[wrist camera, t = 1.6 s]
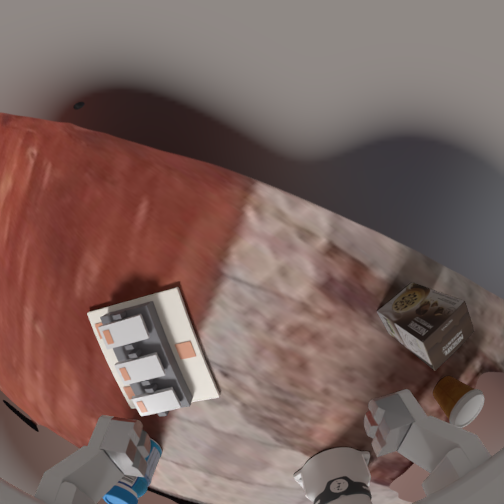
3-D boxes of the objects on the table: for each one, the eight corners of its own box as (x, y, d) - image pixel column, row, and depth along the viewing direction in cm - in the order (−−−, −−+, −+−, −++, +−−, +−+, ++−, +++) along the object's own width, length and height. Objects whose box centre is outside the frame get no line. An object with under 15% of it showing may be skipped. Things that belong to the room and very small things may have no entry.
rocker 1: (150, 336, 42) (148, 338, 41) (109, 347, 41) (106, 349, 40) (141, 313, 42) (139, 315, 41) (100, 325, 41) (97, 327, 39)
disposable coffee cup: (460, 386, 47) (486, 408, 35) (431, 410, 48) (455, 436, 36) (454, 361, 47) (484, 383, 35) (423, 388, 47) (450, 415, 35)
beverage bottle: (170, 454, 50) (147, 515, 30) (144, 459, 50) (118, 514, 30) (147, 430, 49) (116, 491, 29) (122, 436, 49) (89, 490, 30)
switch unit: (220, 394, 48) (216, 413, 42) (132, 406, 48) (122, 422, 42) (178, 286, 46) (167, 295, 40) (89, 311, 47) (72, 320, 41)
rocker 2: (165, 372, 43) (165, 375, 42) (125, 382, 41) (123, 385, 40) (156, 352, 42) (155, 355, 41) (116, 362, 41) (114, 365, 40)
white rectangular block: (181, 404, 43) (180, 408, 42) (142, 413, 42) (140, 416, 41) (172, 386, 43) (171, 390, 42) (132, 396, 42) (131, 399, 40)
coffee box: (389, 335, 46) (433, 373, 30) (375, 310, 46) (421, 343, 30) (424, 306, 46) (475, 332, 30) (412, 280, 45) (466, 300, 29)
